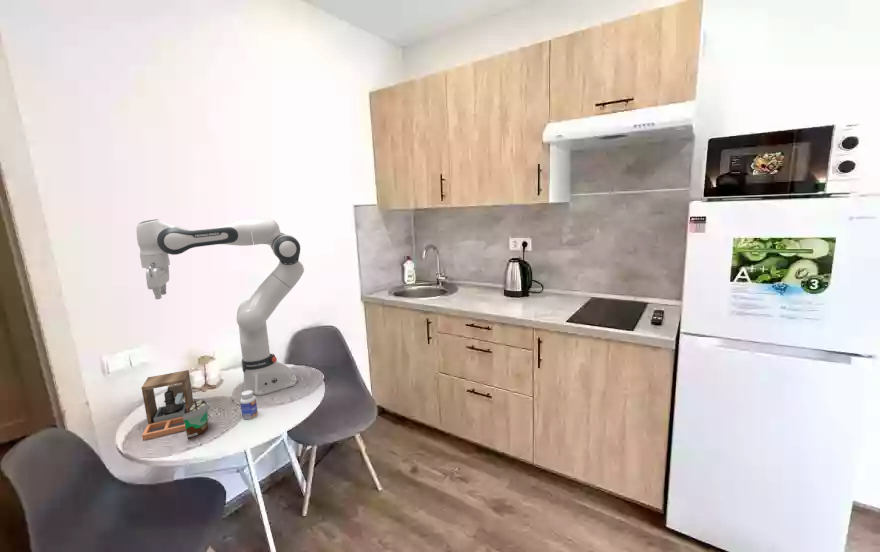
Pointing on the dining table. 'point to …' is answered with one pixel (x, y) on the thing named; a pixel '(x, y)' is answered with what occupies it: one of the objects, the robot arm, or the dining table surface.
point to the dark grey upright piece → (170, 403)
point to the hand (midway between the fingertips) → (161, 296)
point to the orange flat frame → (164, 428)
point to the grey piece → (179, 395)
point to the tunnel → (161, 382)
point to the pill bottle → (248, 405)
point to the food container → (196, 418)
